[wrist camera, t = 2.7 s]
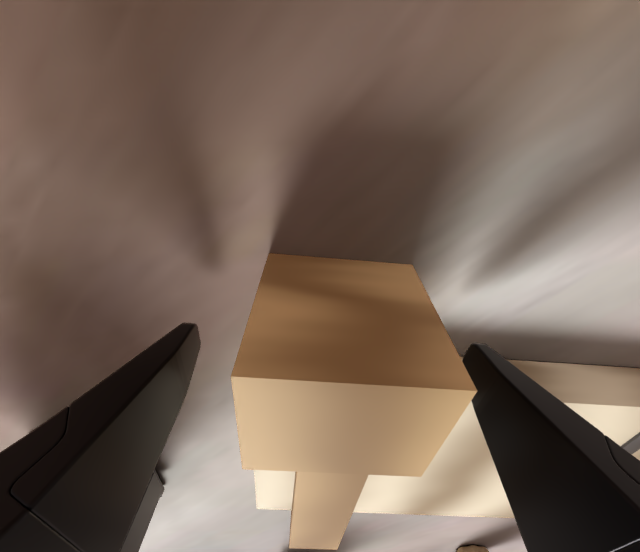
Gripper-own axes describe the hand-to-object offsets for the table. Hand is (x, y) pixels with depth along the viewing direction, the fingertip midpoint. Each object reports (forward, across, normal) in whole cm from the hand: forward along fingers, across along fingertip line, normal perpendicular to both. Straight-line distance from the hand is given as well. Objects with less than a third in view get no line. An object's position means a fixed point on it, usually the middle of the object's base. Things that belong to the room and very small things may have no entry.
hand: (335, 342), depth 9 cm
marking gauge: (+2, 0, +3) cm, 4 cm away
